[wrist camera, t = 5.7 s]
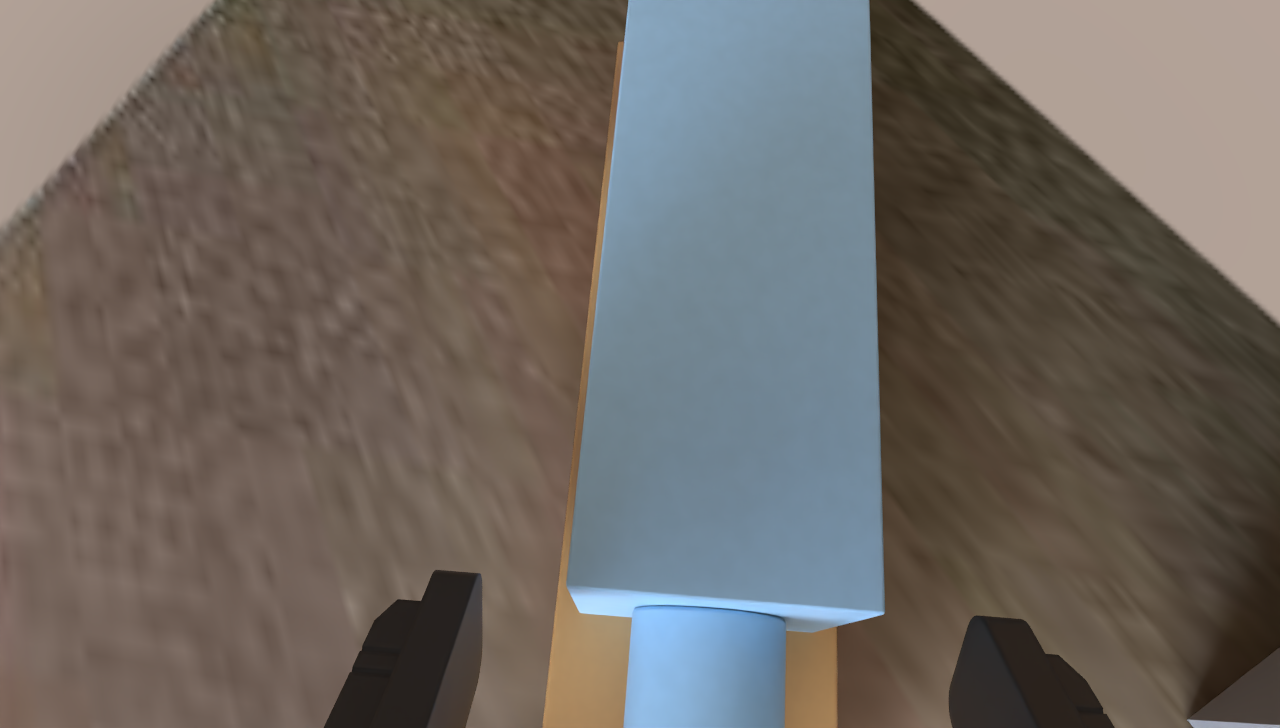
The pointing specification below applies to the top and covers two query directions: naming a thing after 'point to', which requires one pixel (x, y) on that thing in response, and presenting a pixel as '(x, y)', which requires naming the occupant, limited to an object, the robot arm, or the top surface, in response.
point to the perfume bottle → (1246, 700)
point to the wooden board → (599, 644)
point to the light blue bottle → (733, 356)
